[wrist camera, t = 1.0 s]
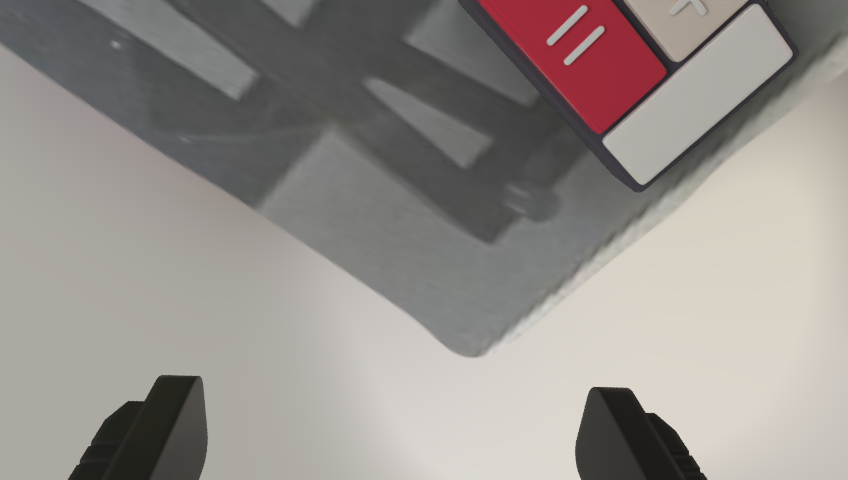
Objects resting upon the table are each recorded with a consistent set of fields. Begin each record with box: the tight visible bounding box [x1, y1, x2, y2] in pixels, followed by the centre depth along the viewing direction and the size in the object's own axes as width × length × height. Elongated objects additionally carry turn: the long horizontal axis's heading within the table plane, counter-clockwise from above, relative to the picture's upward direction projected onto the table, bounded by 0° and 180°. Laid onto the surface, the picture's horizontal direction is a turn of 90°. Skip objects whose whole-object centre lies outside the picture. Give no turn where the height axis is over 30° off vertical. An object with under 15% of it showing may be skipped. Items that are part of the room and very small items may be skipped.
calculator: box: [458, 0, 799, 193], centre depth 31 cm, size 11×4×15 cm
